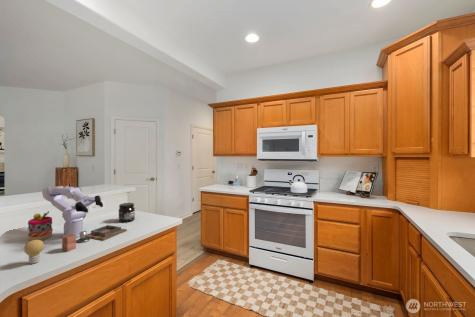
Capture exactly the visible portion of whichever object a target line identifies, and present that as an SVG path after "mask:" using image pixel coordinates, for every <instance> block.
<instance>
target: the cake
mask: <svg viewBox="0 0 475 317" xmlns="http://www.w3.org/2000/svg"><path fill="white" fill-rule="evenodd" d="M49 213H50V211H49V210H48V211H47V212H44V213H43V214H42V215H41V214H40V213H38V212H37V213H35V214H33V218H32V219H29V220H28V222H27V225H28V226H27V230H28V234H27V236H28V242H30V241H32V240H41V241H44V240H47V239H49V238H52V236H53V225H52V224H53V218H52V217H51V216H48V215H49Z"/></svg>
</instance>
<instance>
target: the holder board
mask: <svg viewBox="0 0 475 317" xmlns="http://www.w3.org/2000/svg"><path fill="white" fill-rule="evenodd" d="M127 231H128V230H127V229H126V228H122V227H121V226H115V225H109V224H107V225H104V226H101V227H99V228H95V229H93V230H90V233H87V234H86V237H89V238H90V239H93V240H97V241H99V240H100V241H106V240H108V239H111V238H113V237H115V236H116V237H117V236H118V235H120V234H122V233H125V232H127Z"/></svg>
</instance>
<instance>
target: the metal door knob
mask: <svg viewBox="0 0 475 317" xmlns="http://www.w3.org/2000/svg"><path fill="white" fill-rule="evenodd" d="M86 233H87V230H83V231H82V232H80V236H79V238H77V239H76V244H82V243H86V242H90V239H91V238H89V237H86V235H87V234H86Z"/></svg>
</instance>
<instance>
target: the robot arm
mask: <svg viewBox="0 0 475 317" xmlns="http://www.w3.org/2000/svg"><path fill="white" fill-rule="evenodd" d="M41 192H42V197H43V199H45V200H46V201H47V202H49V203H50V202H51V205H52V206H53V207H54V208H56V209H58V210H59V211H60V212H62V214H61V215H62V216H61V217H62V218H63V220H64V224H63V235H62V237H63V236H66V235H69V234H73V235H76V238H78V237H79V238H80V232H82V231H84V221H83V220H84V219H85V218H86V217H87V214H88V213H89V208H88V207H90V206H91V205H93V204H94V203H95V206H99V207H101V208H103V207H104V204H103V201H102V196H101V195H98V194H97V195H96V196H93V195H92V196H89V195H88V194H85V192H83V190H82V188H81V187H78V186H77V187H74V186H70V185H65V186H63V185H58V186H50V187H44V188H43V189H42V190H41ZM65 198H67V199H71V200H74V201H75V203H74V204H73V203H72V204H70V203H68V202H67V201H66V200H64V199H65ZM87 234H88V233H87V232H86V235H87Z"/></svg>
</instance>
